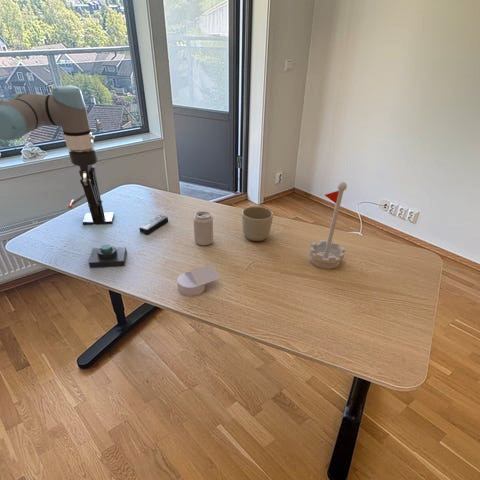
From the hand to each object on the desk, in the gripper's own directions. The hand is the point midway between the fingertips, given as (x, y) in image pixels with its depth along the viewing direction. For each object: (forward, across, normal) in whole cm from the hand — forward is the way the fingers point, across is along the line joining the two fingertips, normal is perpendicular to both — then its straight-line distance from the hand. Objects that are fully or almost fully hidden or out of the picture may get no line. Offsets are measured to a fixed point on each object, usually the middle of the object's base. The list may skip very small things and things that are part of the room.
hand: (100, 222), depth 118 cm
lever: (+5, +34, +12) cm, 36 cm away
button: (+11, 0, 0) cm, 11 cm away
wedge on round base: (+15, -20, -31) cm, 40 cm away
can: (+15, +10, -36) cm, 40 cm away
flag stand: (+15, -10, -81) cm, 83 cm away
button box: (+15, 0, 0) cm, 15 cm away
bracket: (+14, +34, +8) cm, 38 cm away
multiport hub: (+15, +25, -16) cm, 33 cm away
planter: (+15, +12, -58) cm, 61 cm away
